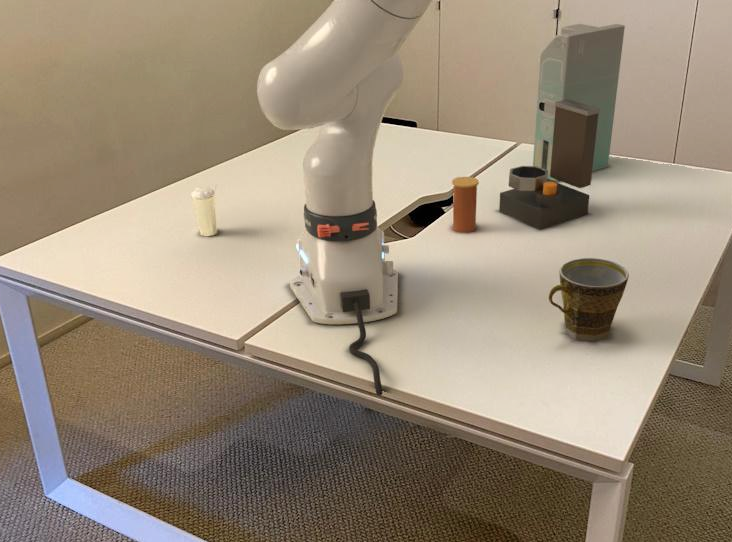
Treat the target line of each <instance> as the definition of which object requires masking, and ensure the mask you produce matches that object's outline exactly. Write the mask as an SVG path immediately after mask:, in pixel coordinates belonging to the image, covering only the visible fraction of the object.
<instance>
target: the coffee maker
mask: <svg viewBox="0 0 732 542" xmlns="http://www.w3.org/2000/svg"><path fill="white" fill-rule="evenodd" d="M555 107H556V109H555V121H554V133H553V145H552V157H551V169H550V177H551V178H554V179H557V180H559V181H558V182H562V183H565V184H567V185H570V186H571V187H572V186H573V187H575V188H578V189H582V188H586V187H589V186H592V177H593V171H592V169H593V160H594V151H595V142H596V133H597V124H598V115H599V113H600V108H596V107H593V106H589V105H586V104H582V103H579V102H575V101H572V100H568V99H566V100H562V101H558V102H555ZM547 177H548V170H546V169H543V168H540V167H538V166H533V165H520V166H516V167H513V168H510V169H509V173H508V187H509V188H512V189H517V190H519V191H537V190H540V189H543V184H544V183H545V182H547V179H548V178H547Z"/></svg>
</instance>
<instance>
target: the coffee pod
mask: <svg viewBox="0 0 732 542" xmlns="http://www.w3.org/2000/svg"><path fill="white" fill-rule="evenodd" d="M479 183H480V182H479V179H478V178H476V177H473V176H459V177H455V178H453V179H452V181H451V184H452V186H453V199H452V200H453V201H452V202H453V205H452V207H453V209H452V213H453V214H452V229H453V231H455V232H458V233H471V232H474V231H475V230H476V225H477V197H478V195H477V194H478V185H479Z"/></svg>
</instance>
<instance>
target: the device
mask: <svg viewBox="0 0 732 542" xmlns="http://www.w3.org/2000/svg"><path fill="white" fill-rule="evenodd" d="M625 27H626V25H625V24H619V23H614V24H608V25H603V26H594V25H588V24H583V23H576V24H570V25H565V26H561V27H560V34H557V35H555V36H554V37H553V38H552V39H551V40H550V42H548V44H547V45H546V46H545V48H544V49H542V51H541V53H540V56H539V57H540V58H539V72H538V84H537V85H538V86H537V99H536V100H537V101H536V114H535V115H536V116H535V131H534V143H533V157H532V166H538V167H540V168H543V169H546V170H548V177H547V179H549V180H551V181H554V182H557V183H558V182H560V181H559V180H557V179H554V178H551V177H550V169H551V157H552V145H553V133H554V121H555V109H556V107H555V102H558V101H562V100H566V99H568V100H572V101H575V102H579V103H582V104H586V105H589V106H593V107H596V108H600V113H599V115H598V124H597V133H596V142H595V151H594V160H593V169H592V172H595V171H597V170H602V169H605V168H609V160H610V152H611V145H612V144H611V143H612V135H613V128H614V127H613V126H614V118H615V112H616V111H615V110H616V104H617V103H616V102H617V95H618V94H617V93H618V88H619V87H618V86H619V78H620V77H619V76H620V69H621V60H622V54H623V44H624V36H625Z"/></svg>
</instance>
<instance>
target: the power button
mask: <svg viewBox="0 0 732 542" xmlns="http://www.w3.org/2000/svg"><path fill="white" fill-rule="evenodd" d="M555 182H556V181H554V182H545V183H544V184H543V194H544V195H556V191H557V183H558V182H557V183H555Z"/></svg>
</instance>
